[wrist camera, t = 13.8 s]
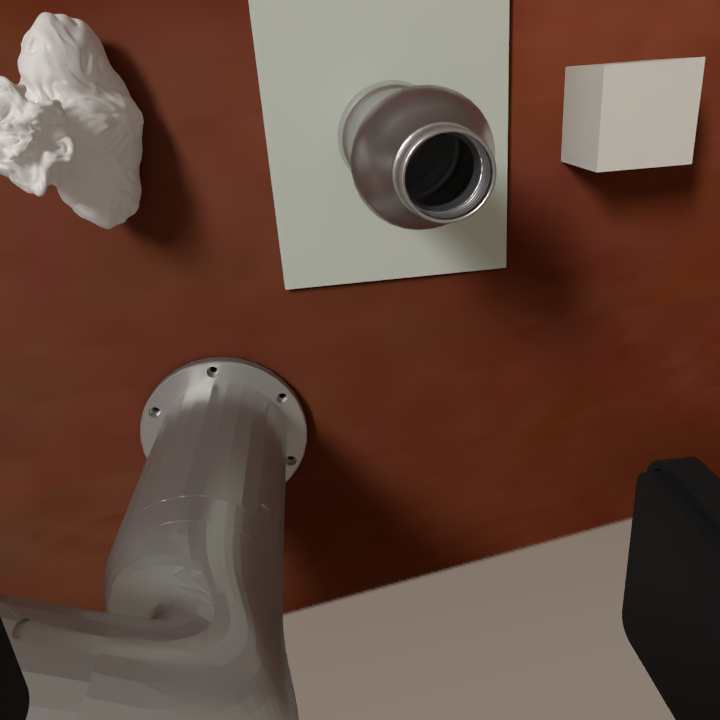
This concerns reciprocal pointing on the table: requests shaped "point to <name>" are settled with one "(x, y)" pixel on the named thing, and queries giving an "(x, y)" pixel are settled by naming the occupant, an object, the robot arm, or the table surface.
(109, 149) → the bust
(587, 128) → the lettered cube
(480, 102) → the sage mat
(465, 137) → the metal bottle
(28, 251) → the table surface
